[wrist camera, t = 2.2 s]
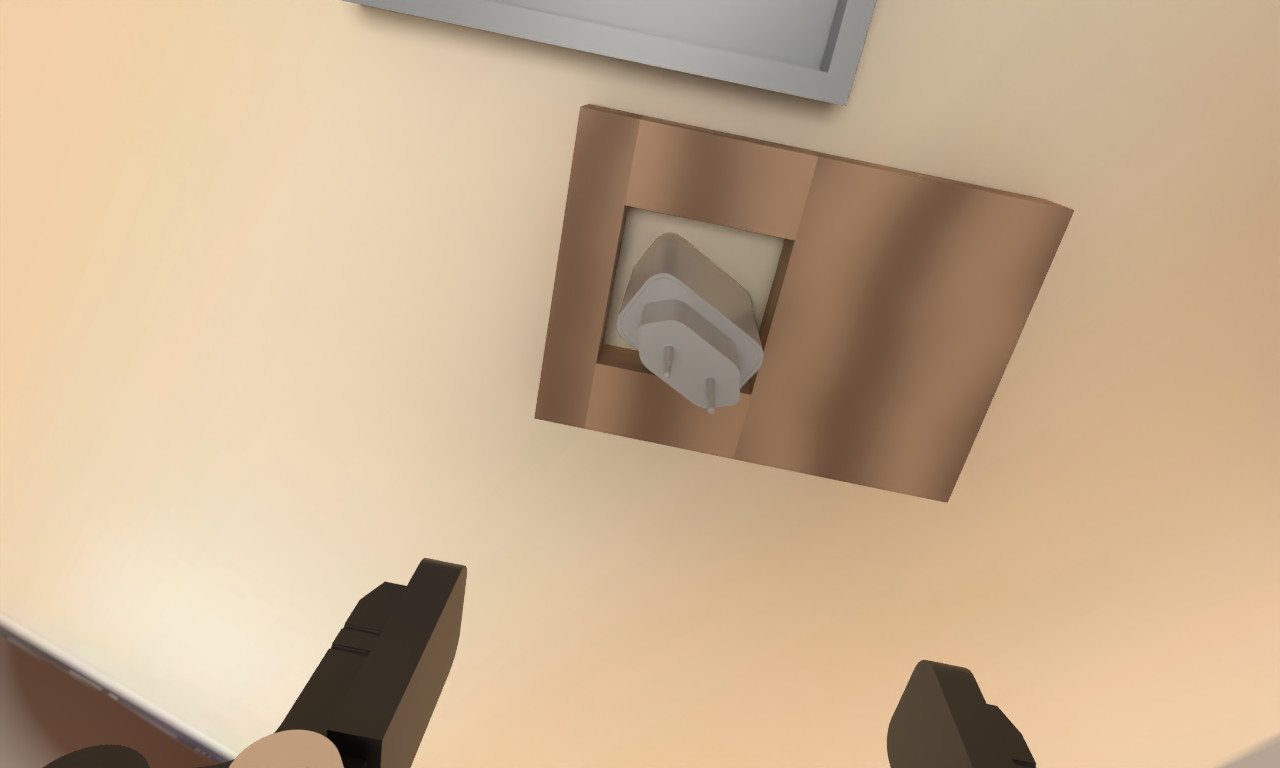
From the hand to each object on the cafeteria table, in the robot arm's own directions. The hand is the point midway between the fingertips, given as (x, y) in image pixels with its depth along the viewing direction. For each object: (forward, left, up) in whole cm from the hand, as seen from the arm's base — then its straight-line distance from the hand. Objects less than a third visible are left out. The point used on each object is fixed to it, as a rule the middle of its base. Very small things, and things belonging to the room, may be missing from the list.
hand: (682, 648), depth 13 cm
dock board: (-4, 0, -23) cm, 23 cm away
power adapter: (0, 0, -23) cm, 23 cm away
